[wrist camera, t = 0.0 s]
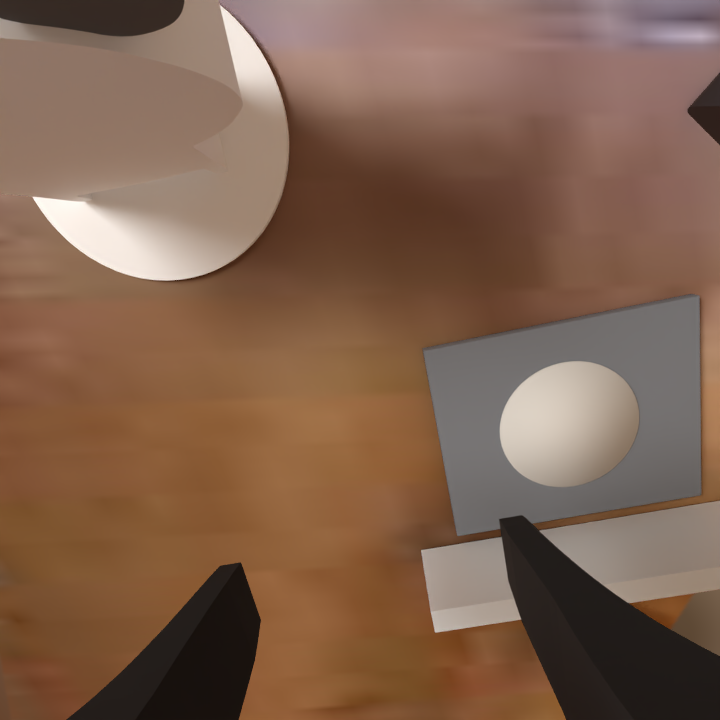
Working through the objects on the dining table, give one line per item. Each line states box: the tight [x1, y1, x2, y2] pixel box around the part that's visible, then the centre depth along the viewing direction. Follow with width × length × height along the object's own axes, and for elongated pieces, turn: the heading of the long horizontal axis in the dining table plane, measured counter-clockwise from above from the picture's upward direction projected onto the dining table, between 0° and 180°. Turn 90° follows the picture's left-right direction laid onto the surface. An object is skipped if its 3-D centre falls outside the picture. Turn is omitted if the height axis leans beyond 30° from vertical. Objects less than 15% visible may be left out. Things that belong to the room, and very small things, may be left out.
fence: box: [421, 501, 720, 632], centre depth 22 cm, size 1×16×4 cm, turn 102°
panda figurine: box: [0, 0, 289, 281], centre depth 12 cm, size 12×11×15 cm
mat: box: [422, 294, 701, 536], centre depth 22 cm, size 10×12×1 cm
